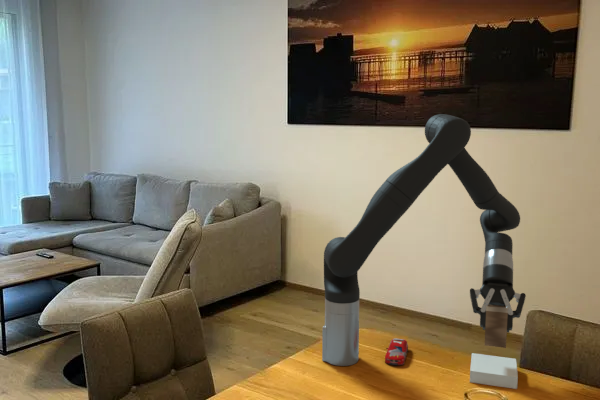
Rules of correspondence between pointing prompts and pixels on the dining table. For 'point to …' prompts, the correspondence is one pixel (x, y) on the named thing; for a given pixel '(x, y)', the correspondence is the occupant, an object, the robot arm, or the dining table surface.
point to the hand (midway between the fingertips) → (496, 329)
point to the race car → (396, 352)
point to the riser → (493, 370)
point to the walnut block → (496, 326)
